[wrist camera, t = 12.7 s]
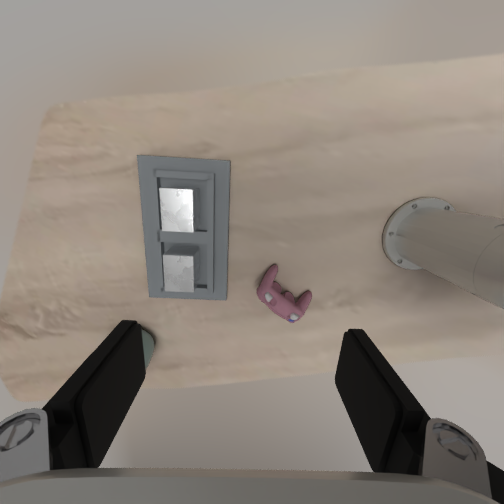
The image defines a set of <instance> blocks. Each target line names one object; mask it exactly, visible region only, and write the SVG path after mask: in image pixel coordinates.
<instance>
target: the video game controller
mask: <svg viewBox="0 0 504 504" xmlns="http://www.w3.org/2000/svg"><path fill="white" fill-rule="evenodd" d="M277 272H278V266H277V265H273V266H271V267H270V268H269V270H268V271H267V272H266V274H265V276H264V278H263V280H262V282H261V284H260V286H259V287H258V288H257V295H258V297H259V299H260V300H261V301H262V302H263V303H265V304H266V305H267V306H268V307H269V308H270V309H271V310H272V311H273V312H274V313H276V314H277V315H279V316H280V317H282V318H284V319H286V320H287V321H289V322H291V323H294V322H296V321H298V320H299V319H300V318H301V317H302V316H303V315H304V313H305V311H306V309H307V307H308V305H309V303H310V301H311V299H312V293H311V292H310V291H307V292H305V293H304V294H303V295H302V296H301V297H300V298H299V300H298V301H297V302H296V303H295V301H294V297H293V295H292V294H291V293H290V292H286V293H284V294H283V295H281V294H280V293H281V290H282V289H281V287H280V285H279V284H278V283H277V282H274V283H273V281H274V278H275V276H276V274H277Z"/></svg>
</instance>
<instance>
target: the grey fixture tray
mask: <svg viewBox="0 0 504 504" xmlns="http://www.w3.org/2000/svg"><path fill="white" fill-rule="evenodd" d="M137 161H138V173H139V184H140V196H141V208H142V219H143V231H144V243H145V254H146V266H147V278H148V289H149V297H156V298H181V299H205V300H226V299H227V270H228V232H229V195H230V161H226V160H209V159H193V158H177V157H161V156H145V155H137ZM164 187H184V188H200V227H199V228H198V229H197V230H196V231H195V232H172V231H162V221H161V206H160V191H159V188H164ZM172 246H189V247H200V281H199V283H198V285H197V287H196V289H195V291H194V292H172V291H165V283H164V267H163V254H164V253H165V252H167V251H168V250H169V249H170V248H171V247H172Z"/></svg>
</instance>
